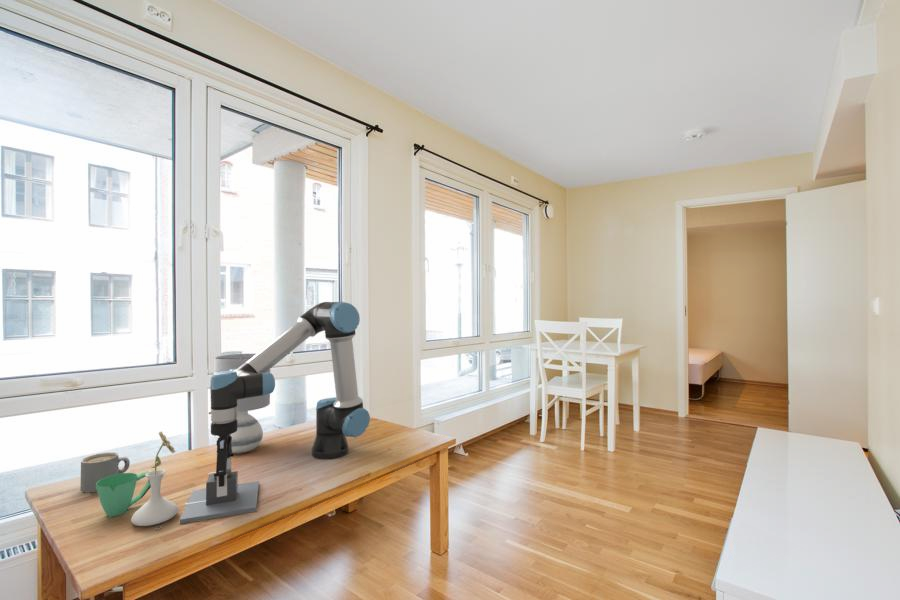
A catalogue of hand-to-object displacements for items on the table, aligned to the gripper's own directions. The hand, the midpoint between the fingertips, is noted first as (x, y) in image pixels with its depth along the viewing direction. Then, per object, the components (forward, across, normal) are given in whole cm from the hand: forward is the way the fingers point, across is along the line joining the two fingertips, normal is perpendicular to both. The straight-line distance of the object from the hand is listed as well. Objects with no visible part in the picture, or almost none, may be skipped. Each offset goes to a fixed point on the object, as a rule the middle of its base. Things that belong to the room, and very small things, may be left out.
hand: (224, 486), depth 134 cm
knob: (+4, 0, -1) cm, 4 cm away
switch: (+5, 0, 0) cm, 5 cm away
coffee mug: (+5, -29, -39) cm, 49 cm away
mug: (+5, -6, -27) cm, 28 cm away
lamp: (+5, -50, +2) cm, 50 cm away
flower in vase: (+5, +4, -17) cm, 19 cm away
